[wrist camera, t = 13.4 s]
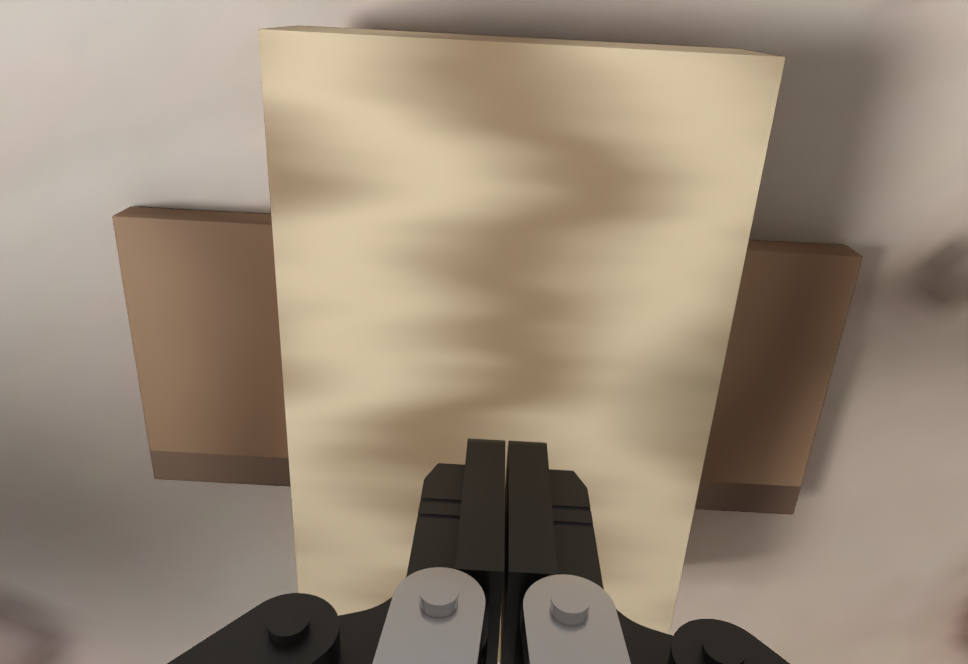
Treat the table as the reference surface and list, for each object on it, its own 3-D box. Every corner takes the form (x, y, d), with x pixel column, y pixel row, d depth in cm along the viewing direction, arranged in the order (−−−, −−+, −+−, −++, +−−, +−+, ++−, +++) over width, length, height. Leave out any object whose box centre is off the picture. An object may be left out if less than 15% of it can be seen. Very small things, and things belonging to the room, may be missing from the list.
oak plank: (302, 650, 20) (257, 28, 14) (328, 567, 23) (302, 25, 17) (661, 671, 20) (785, 56, 14) (641, 585, 23) (735, 47, 17)
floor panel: (168, 459, 23) (154, 478, 22) (130, 206, 20) (111, 215, 19) (781, 493, 23) (792, 514, 22) (845, 245, 19) (862, 257, 18)
